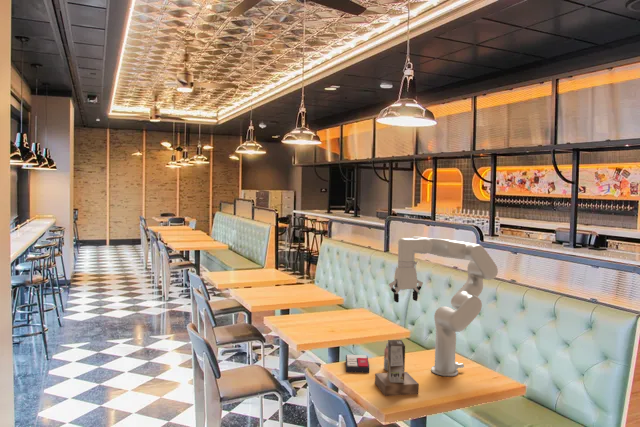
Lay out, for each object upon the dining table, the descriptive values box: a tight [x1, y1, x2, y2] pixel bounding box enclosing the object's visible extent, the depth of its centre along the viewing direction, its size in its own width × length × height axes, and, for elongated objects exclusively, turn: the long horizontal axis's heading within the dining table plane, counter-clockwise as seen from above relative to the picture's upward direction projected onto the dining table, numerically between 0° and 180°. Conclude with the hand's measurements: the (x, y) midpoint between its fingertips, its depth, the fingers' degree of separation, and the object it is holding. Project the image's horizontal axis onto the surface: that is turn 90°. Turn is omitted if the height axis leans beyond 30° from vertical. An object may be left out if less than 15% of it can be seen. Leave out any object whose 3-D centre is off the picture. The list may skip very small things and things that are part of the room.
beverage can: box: [383, 342, 388, 372], centre depth 235 cm, size 9×8×12 cm
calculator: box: [345, 354, 370, 374], centre depth 238 cm, size 11×4×15 cm
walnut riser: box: [374, 371, 420, 397], centre depth 212 cm, size 15×14×5 cm
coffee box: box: [386, 339, 406, 383], centre depth 211 cm, size 9×6×16 cm
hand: (405, 301), depth 225 cm, fingers open, 9 cm apart
